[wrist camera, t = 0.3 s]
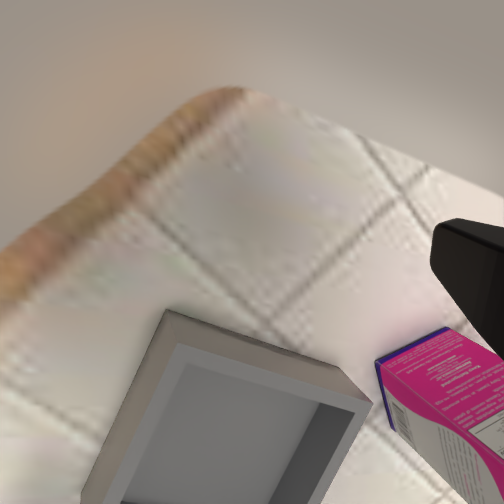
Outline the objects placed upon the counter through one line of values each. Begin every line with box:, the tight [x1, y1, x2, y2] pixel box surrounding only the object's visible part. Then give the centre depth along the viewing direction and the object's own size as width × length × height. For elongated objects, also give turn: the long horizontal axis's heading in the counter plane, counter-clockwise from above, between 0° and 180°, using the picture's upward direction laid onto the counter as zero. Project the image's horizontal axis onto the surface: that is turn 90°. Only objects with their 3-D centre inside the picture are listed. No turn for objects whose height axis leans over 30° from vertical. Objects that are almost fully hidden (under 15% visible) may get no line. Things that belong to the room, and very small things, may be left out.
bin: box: [80, 309, 373, 504], centre depth 25 cm, size 12×12×4 cm
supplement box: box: [375, 327, 504, 504], centre depth 26 cm, size 6×6×12 cm
